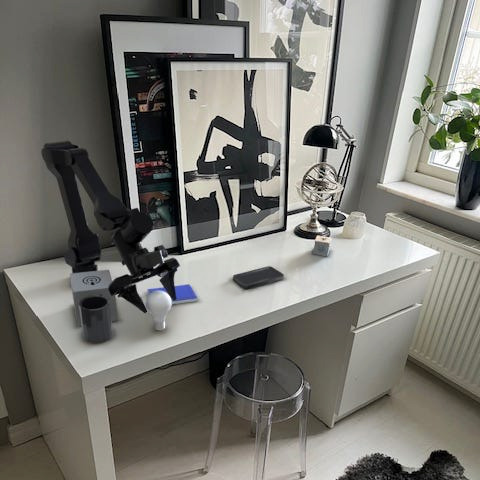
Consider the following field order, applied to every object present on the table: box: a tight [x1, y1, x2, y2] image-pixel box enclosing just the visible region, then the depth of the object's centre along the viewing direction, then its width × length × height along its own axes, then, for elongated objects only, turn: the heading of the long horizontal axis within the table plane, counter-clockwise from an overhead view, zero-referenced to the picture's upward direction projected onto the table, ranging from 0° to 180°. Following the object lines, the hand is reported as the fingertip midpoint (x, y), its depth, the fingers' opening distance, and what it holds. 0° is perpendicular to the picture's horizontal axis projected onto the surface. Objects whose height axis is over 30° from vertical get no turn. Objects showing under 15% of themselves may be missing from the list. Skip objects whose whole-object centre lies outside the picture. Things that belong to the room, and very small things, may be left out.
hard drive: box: [146, 283, 198, 305], centre depth 142 cm, size 2×8×12 cm
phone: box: [232, 265, 285, 290], centre depth 155 cm, size 8×1×15 cm
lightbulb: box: [145, 290, 173, 331], centre depth 125 cm, size 6×6×11 cm
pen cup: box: [79, 295, 113, 344], centre depth 122 cm, size 7×7×10 cm
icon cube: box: [69, 269, 118, 327], centre depth 130 cm, size 10×10×10 cm
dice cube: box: [312, 234, 332, 257], centre depth 174 cm, size 5×5×5 cm
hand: (161, 306), depth 124 cm, fingers open, 9 cm apart
